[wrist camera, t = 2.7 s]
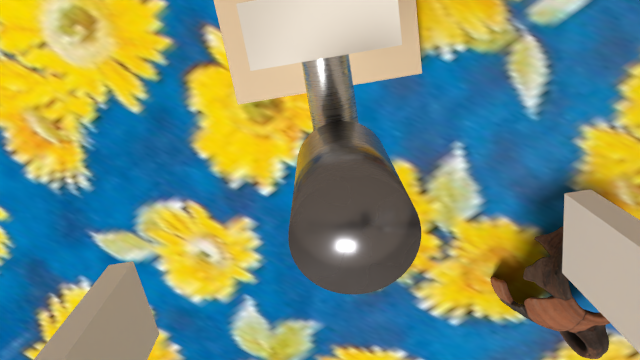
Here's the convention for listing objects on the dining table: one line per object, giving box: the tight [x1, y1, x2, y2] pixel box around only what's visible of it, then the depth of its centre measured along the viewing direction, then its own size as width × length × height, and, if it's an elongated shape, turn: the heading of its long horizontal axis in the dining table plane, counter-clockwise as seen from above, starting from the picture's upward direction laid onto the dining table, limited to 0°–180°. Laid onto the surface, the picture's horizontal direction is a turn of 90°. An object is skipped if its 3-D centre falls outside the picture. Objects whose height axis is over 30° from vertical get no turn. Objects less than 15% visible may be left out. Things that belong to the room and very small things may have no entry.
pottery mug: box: [491, 226, 610, 359], centre depth 39 cm, size 12×10×8 cm
